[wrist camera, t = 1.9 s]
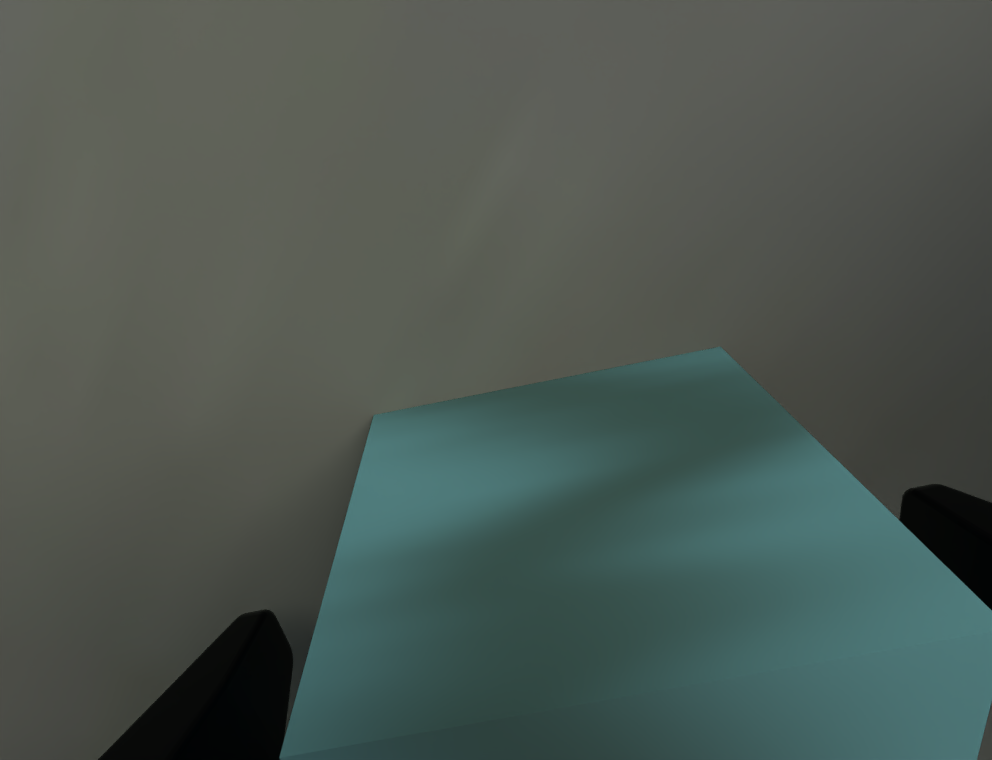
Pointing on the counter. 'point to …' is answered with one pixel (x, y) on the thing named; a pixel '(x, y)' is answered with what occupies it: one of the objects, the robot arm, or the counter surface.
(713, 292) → the counter surface
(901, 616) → the teal block
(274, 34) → the counter surface
